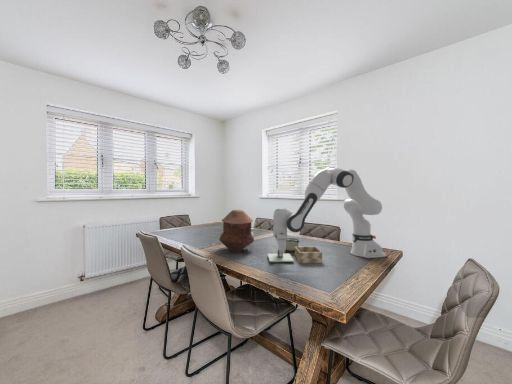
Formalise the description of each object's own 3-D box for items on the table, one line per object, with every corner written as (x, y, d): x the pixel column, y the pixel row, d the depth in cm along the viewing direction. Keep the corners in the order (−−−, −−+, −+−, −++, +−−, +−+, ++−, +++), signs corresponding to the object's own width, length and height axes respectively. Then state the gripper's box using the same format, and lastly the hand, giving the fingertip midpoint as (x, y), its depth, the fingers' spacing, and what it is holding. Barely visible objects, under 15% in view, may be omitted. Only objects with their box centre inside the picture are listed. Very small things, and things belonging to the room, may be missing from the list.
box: (315, 256, 157) (315, 246, 157) (322, 263, 143) (322, 252, 143) (294, 257, 156) (295, 246, 156) (299, 263, 142) (299, 252, 142)
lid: (289, 254, 157) (289, 247, 157) (293, 261, 142) (293, 253, 142) (267, 254, 156) (267, 247, 156) (269, 262, 141) (269, 254, 141)
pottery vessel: (222, 245, 187) (222, 208, 186) (254, 246, 186) (254, 208, 185) (216, 255, 161) (215, 211, 160) (252, 255, 160) (252, 212, 159)
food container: (298, 251, 170) (298, 237, 170) (299, 253, 164) (299, 239, 164) (281, 251, 171) (281, 237, 171) (281, 253, 165) (282, 239, 165)
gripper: (273, 230, 159) (273, 250, 159) (277, 237, 139) (277, 260, 139) (282, 230, 159) (282, 250, 160) (287, 236, 139) (287, 259, 139)
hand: (280, 255), depth 149 cm, fingers closed on lid, 3 cm apart
